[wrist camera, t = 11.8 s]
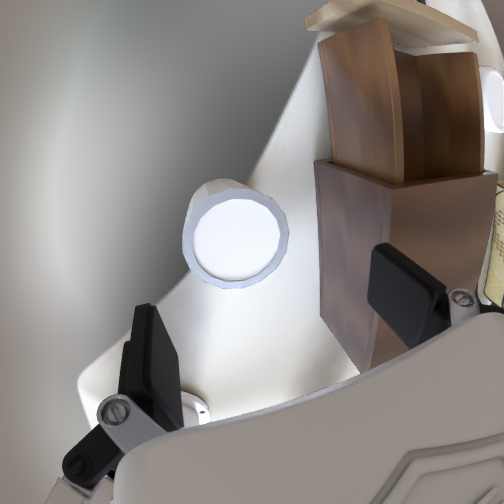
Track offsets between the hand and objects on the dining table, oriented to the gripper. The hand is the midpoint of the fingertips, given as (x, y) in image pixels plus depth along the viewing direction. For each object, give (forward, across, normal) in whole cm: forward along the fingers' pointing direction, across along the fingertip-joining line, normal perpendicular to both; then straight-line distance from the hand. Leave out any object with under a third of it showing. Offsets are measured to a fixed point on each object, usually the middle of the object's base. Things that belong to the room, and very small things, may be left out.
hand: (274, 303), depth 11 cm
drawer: (+13, -16, -10) cm, 23 cm away
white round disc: (+14, -39, -10) cm, 43 cm away
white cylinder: (+14, 0, 0) cm, 14 cm away
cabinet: (+14, -16, +6) cm, 22 cm away
